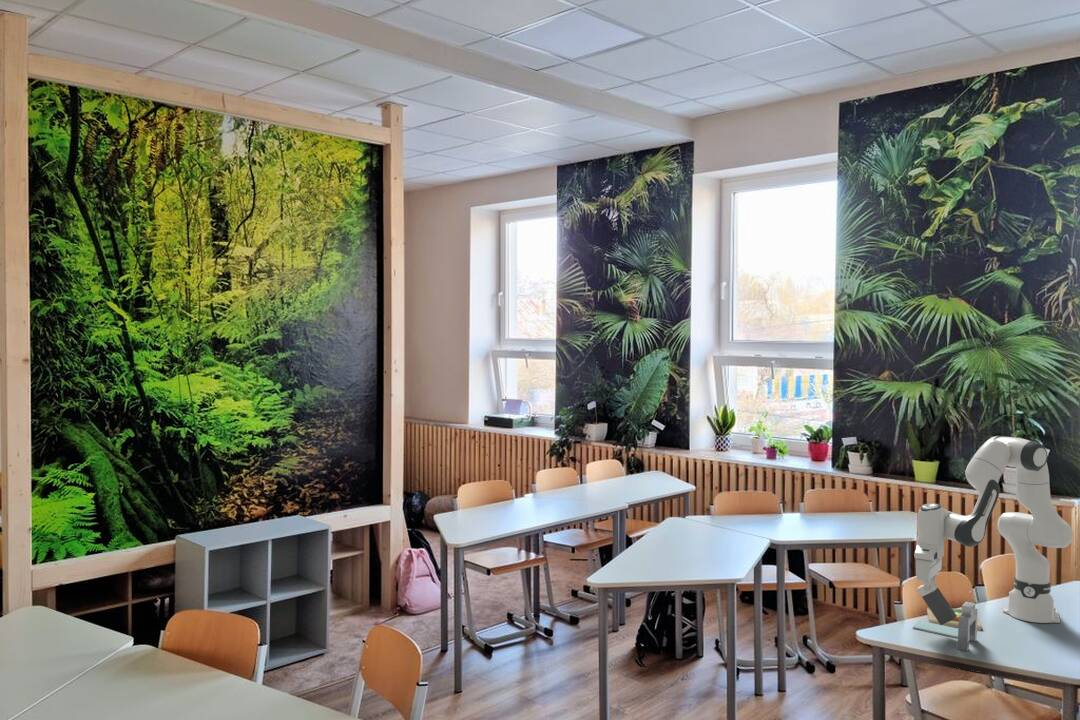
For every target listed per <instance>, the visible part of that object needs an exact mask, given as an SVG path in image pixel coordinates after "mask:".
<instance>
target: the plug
mask: <svg viewBox="0 0 1080 720" xmlns="http://www.w3.org/2000/svg"><path fill="white" fill-rule="evenodd" d="M916 590H917V592H918V593H919V595H920V596H921V598H922V600H924V602H925V604H926V605H927V608H928V607H929V608H930V610H931V611H932V613H933V614H934V616H935V617H936V619H937V620H938V622H939V623H940V625H943V624H945V623H947V622H949V621H952V620H954V619H955V617H956V616H957V615H956V614H955V612H954V611H953V609H954V608H953V609H952V606H951V605H950V603H949V602H948V600H947V599H946V597H944V595H943V593H942V591H941V590H940V588H939V586H937V583H936V582H935V583H934V581H933V580H931V581H930V590H929V591H925V590H924V585H923V584H921V585H919V586H918V587H917V588H916Z"/></svg>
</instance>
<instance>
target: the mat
mask: <svg viewBox="0 0 1080 720" xmlns="http://www.w3.org/2000/svg"><path fill="white" fill-rule="evenodd" d="M912 629H914V630H919V631H923V632H928V633H930V634H931V633H932V634H937V635H942V636H945V637H950V638H955V639H958V628H954V627H948V626H943V625H939V624H934V623H930V622H929V621H923V620H919V621H918V622H916V623H915V624H914V625H913V626H912Z"/></svg>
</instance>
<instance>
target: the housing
mask: <svg viewBox="0 0 1080 720" xmlns="http://www.w3.org/2000/svg"><path fill="white" fill-rule="evenodd" d="M961 610H962V614H961V615H960V616H959V623H958V628H957V629H958V638H957V650H958V651H964V652H968V651H969V650H970V642H974V643H975V642H976V641H977V635H978V633H977V632H978V631H977V617H978V608H976V603H975V602H972V601H971V602H970V601H965V602H964V603H962V605H961Z"/></svg>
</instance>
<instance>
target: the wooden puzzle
mask: <svg viewBox="0 0 1080 720" xmlns="http://www.w3.org/2000/svg"><path fill="white" fill-rule="evenodd" d="M951 608H952V607H951ZM952 609H953V611H954V612H955V614H956V615H957V616H956V617H955V619H954V620H952V621H949V622H947V623H945V624H943V626H948V627H953V628H957V629H958V623H959V616H960V615H961V614H962V608H952ZM926 613H927V616H928V620H929V621H928V622H929V623H934V624H939V625H940V623H939V622H938V620H937V619H936V617H935V616H934V614H933V613H932V611H931V610H930V608H929V607H928V606H927V608H926ZM982 628H983V626H982V623H981V621H980V620H979V617H978V616H977V630H979V631H981V630H982ZM979 631H978V632H979Z"/></svg>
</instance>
